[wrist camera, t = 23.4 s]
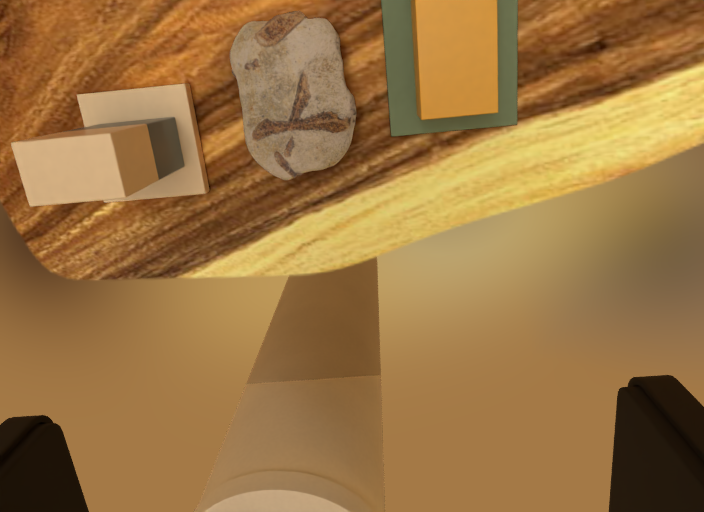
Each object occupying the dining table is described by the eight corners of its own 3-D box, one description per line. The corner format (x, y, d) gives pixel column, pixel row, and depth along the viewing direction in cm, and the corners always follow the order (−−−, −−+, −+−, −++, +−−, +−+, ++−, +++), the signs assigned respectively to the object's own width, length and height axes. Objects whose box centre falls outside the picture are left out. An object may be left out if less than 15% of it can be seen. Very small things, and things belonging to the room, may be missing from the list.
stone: (368, 157, 35) (368, 163, 33) (262, 182, 36) (254, 191, 34) (332, 2, 32) (329, -4, 30) (217, 33, 33) (205, 30, 31)
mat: (515, 124, 34) (517, 124, 34) (390, 135, 35) (391, 136, 35) (516, -92, 31) (518, -94, 30) (375, -75, 31) (375, -77, 31)
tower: (209, 190, 37) (153, 233, 27) (110, 199, 37) (21, 244, 28) (189, 83, 34) (121, 88, 25) (84, 93, 35) (-23, 104, 25)
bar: (484, -63, 31) (497, -77, 28) (487, 108, 34) (498, 112, 31) (407, -54, 31) (411, -67, 28) (416, 115, 34) (421, 120, 31)
